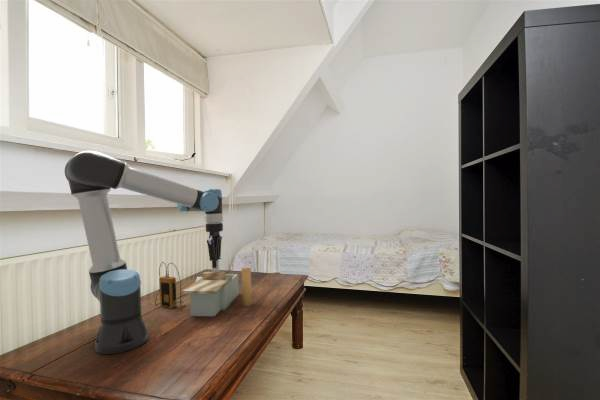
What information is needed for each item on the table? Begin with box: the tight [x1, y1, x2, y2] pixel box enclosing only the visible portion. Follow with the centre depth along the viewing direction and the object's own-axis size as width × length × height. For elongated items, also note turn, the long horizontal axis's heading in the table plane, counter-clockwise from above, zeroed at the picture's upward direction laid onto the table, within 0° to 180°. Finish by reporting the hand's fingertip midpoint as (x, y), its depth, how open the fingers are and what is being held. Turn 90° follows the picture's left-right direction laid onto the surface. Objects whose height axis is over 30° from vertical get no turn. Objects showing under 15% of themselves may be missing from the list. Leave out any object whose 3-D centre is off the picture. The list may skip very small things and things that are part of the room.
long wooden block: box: [241, 267, 253, 307], centre depth 135 cm, size 4×4×16 cm
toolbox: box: [189, 273, 239, 317], centre depth 136 cm, size 14×27×10 cm, turn 175°
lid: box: [181, 271, 232, 295], centre depth 130 cm, size 14×20×4 cm
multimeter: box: [154, 261, 188, 309], centre depth 138 cm, size 15×10×20 cm
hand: (215, 274), depth 139 cm, fingers closed
